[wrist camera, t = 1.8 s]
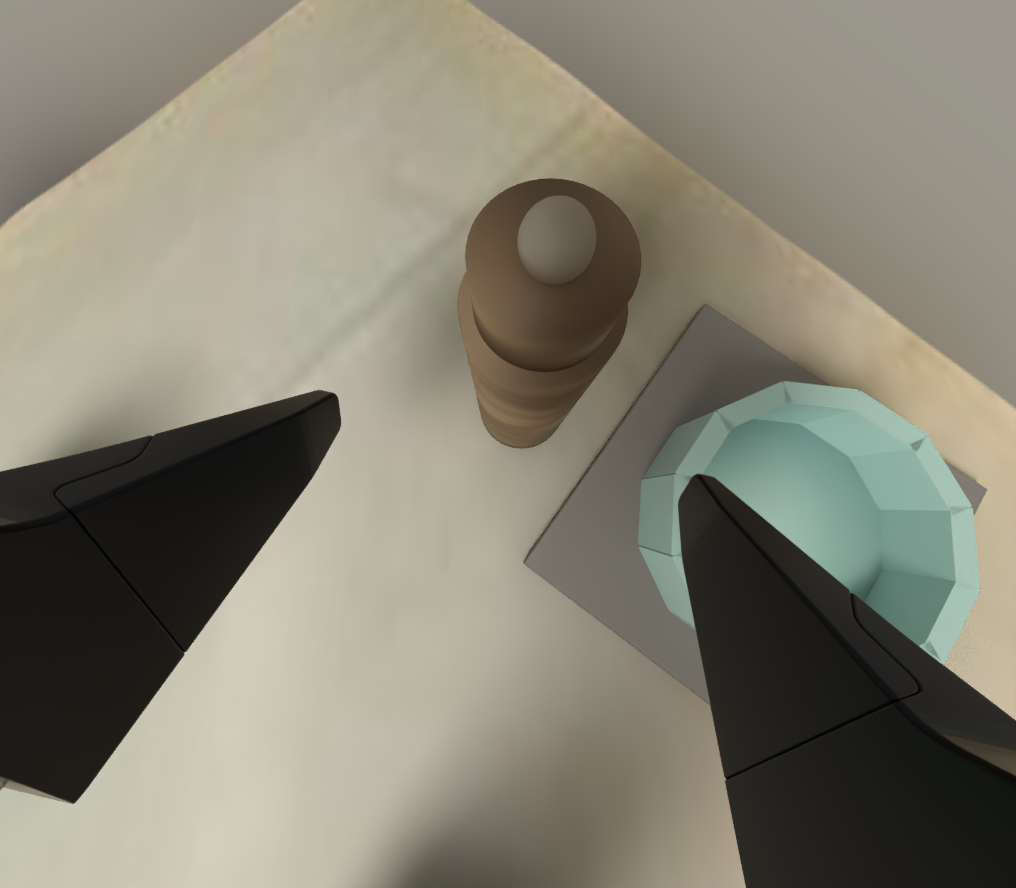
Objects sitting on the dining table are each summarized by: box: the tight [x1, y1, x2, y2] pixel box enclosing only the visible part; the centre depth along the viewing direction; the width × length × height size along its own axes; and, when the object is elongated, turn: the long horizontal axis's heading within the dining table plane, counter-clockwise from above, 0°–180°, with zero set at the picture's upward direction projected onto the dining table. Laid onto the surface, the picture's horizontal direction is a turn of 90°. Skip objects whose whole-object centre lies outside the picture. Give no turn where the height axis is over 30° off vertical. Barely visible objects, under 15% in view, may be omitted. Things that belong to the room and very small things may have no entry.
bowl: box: [638, 381, 980, 664], centre depth 17 cm, size 13×13×4 cm
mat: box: [524, 304, 987, 705], centre depth 20 cm, size 18×18×1 cm
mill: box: [458, 179, 641, 448], centre depth 14 cm, size 5×5×14 cm
